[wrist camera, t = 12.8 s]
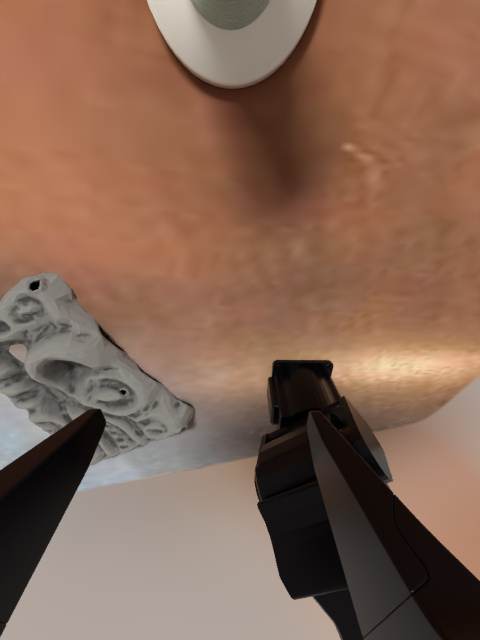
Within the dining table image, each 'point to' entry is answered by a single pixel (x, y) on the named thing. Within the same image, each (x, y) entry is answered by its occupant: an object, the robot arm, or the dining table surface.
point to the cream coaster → (232, 41)
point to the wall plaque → (78, 371)
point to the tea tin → (230, 12)
